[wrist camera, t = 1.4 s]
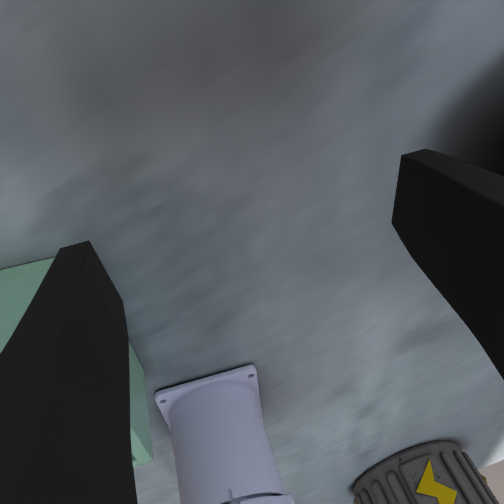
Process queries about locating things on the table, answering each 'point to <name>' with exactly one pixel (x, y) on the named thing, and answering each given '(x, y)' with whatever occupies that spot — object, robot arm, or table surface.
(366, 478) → the decorative lamp
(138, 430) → the green storage bin
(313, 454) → the table surface
